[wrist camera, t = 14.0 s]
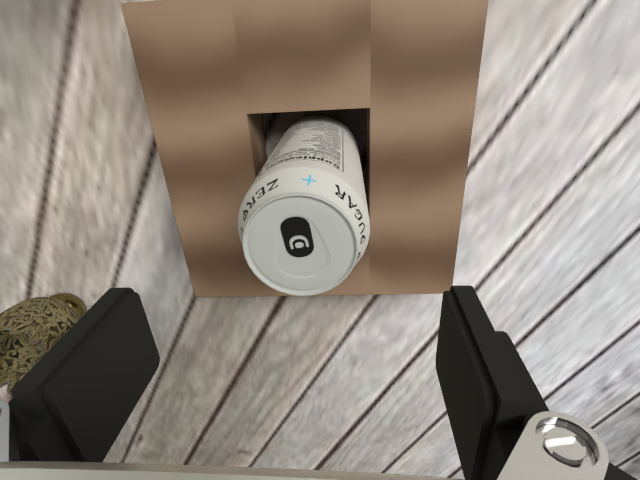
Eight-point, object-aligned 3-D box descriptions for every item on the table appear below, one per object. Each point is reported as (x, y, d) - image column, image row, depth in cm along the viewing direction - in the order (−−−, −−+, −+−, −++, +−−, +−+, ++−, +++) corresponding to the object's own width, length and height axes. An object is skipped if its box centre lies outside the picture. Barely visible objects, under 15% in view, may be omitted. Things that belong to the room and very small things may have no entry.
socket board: (438, 262, 33) (451, 293, 29) (212, 267, 34) (195, 297, 30) (466, -13, 24) (491, -24, 20) (155, 9, 25) (120, 3, 21)
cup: (107, 341, 39) (56, 407, 32) (34, 323, 39) (-35, 387, 32) (109, 284, 36) (52, 344, 29) (29, 264, 35) (-50, 320, 28)
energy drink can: (289, 196, 31) (250, 314, 18) (271, 120, 28) (208, 193, 15) (363, 184, 30) (381, 298, 17) (352, 105, 27) (362, 166, 14)
